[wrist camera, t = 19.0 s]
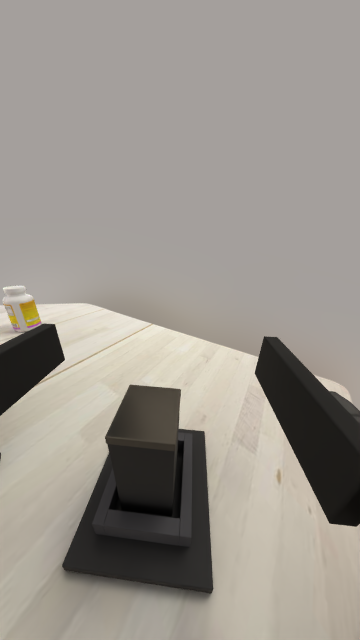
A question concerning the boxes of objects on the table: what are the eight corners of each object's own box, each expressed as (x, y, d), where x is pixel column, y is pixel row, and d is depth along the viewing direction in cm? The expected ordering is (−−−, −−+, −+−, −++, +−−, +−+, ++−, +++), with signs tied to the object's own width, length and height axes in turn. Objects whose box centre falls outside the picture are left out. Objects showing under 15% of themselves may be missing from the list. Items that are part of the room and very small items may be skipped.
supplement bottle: (45, 322, 57) (33, 284, 52) (37, 330, 51) (23, 289, 46) (20, 324, 54) (5, 285, 49) (9, 334, 49) (-9, 290, 44)
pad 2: (211, 593, 13) (216, 581, 12) (64, 570, 14) (54, 557, 13) (203, 435, 24) (205, 421, 23) (122, 427, 25) (120, 413, 24)
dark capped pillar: (172, 517, 16) (175, 444, 12) (120, 510, 16) (104, 437, 12) (177, 456, 21) (180, 388, 16) (137, 451, 21) (129, 384, 17)
